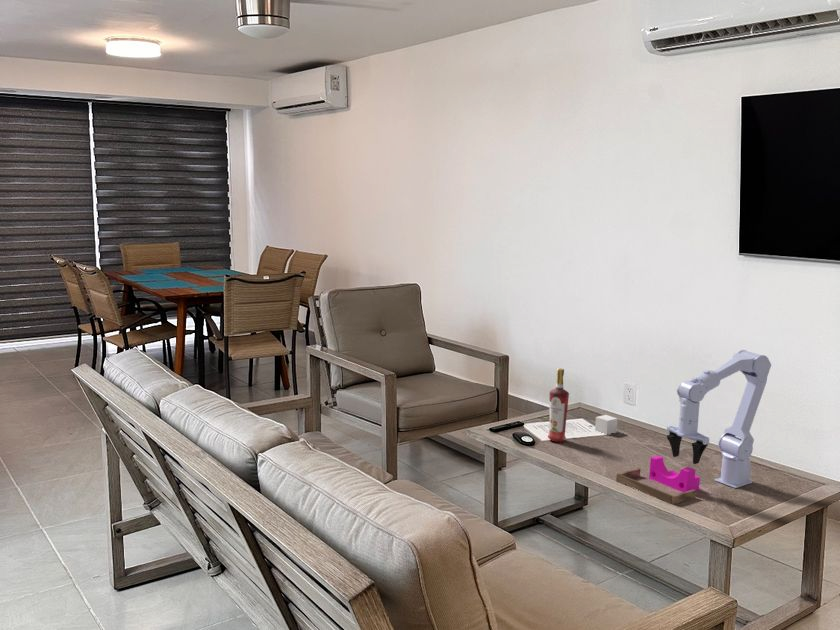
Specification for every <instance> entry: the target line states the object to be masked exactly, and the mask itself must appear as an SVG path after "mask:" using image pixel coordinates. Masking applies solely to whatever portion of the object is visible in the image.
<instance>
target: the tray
mask: <svg viewBox="0 0 840 630" xmlns="http://www.w3.org/2000/svg"><path fill="white" fill-rule="evenodd" d="M640 476H641V468H639V467H637V468H634V469H630V470H626V471H622V472H619V473H616V479H615V481H616V482H617V481H618V482H617V483H619V482H621V483H620V484H622V483H623V484H622V485H624V484H626V485H625V486H627V485H628V486H627V487H629V486H631V487H634V488H636V489H638V490H637V491H639V490H640V491H639V492H641V491H642V492H641V493H643V492H645V493H644V494H646V493H647V494H646V495H648V494H649V496H651V497H653V498H655V497H656V499H658V500H660V501H662V502H665V503H668V504H670V505H677V504H680V503H683V502H686V501H689V500H692V499H695V498H696V492H697V491H696V490H694V489H693V490H690V491H686V492H680V493H677V494H673V495H672V494H670V493H667V492H665V491H662V490H660V489H658V488H655V487H652V486H650V485H648V484H646V483H643V482H640V481H638V480H636V479H634V478H637V477H640ZM631 487H630V488H631ZM634 488H633V489H634ZM636 489H635V490H636Z"/></svg>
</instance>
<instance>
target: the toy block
mask: <svg viewBox="0 0 840 630" xmlns="http://www.w3.org/2000/svg"><path fill="white" fill-rule="evenodd" d="M649 461H650V462H649V476H648V479H650V480H652V481H654V482H657V483H659V484H662V485H664V486H666V487H669V488H671V489H674V490H676V491H680V493H683V492H686V491H690V490H693V489H694V490H696V492H697V491H699V490H700V481H701V476H697V475H696V469H695V468H692V467H690V466H688V467H684V468H681V469H680V472H677V471H675V470H674V469H672V470H668V469H667V467H666V465H665V461H664V457H663V456H660V455H656V456H652V457H650V460H649Z"/></svg>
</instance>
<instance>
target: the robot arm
mask: <svg viewBox="0 0 840 630" xmlns="http://www.w3.org/2000/svg"><path fill="white" fill-rule="evenodd" d="M771 367H772V362H771V361H770V360H769V357H768V356H766V355H764V354H758V353H754V352H751V351H748V350H744V349H740V350H738V351H737V352H736V353H734V354H733V356H732V357H731V359H729V360H728V361H726V362H725V363H724V364H722V365H721V366H719V367H717V368H716V369H714V370H711V369H708V370H707V369H705V370H704V371H703V373H701V374H699V375H698V376H696V377H693V378H692V379H691V380H684V381H682V382H681V383H680V384H679V385H678V388H677V390H676V393H677V396H678V397H679V398H678V399H679V402H680V404H679V406H680V407H679V419H678V427H676V426H672V425H669V426H667V427H666V433H668V434H667V435H666V439H667V440H668V442H669V444H670V445H669V446H670V447H671V453H672V457H674V458H676V457H679V456H680V450H681V443H682V442H681V441H682V439H683V438H685V439H689V440H691V441H695V442H692V443H691V447H692V455H693V456H692V463H693V465H697V464H699V463H700V461H701V458H702V455H703V453H704V451H705V449H706V448H707V447H708V446H709V444H710V437H707V436H706V435H704V434H702V433H700V432H698V431H699V430H698V429H699V417H700V416H699V415H700V402H701V401H703V399H704V397H705V396H706V395H707V393H709V392H710V391H712V390H714V389H715V388H717V387H719V385H720V384H721V380H724V379H725V378H728V377H730V376H732V375H733V374H735V373H738V372H740V373H742V375H744V377H745V379H746V380H747V381H746V385H745V388H744V390H743V394H742V397H741V399H740V402H739V405H738V408H737V411H736V414H735V417H734V420H733V422H732V425H731V426H729V427H726V428H725V429H724V432H723V434H722V435H721V436H720V438H719V440H718V443H717V446H718V449H719V450H720V451H721V453H720V454H721V455H722V460H721V472H720V477H718V478H715V479H714V481H715V482H718V483H721V484H724V485H726V486H728V487H731V488H734V489H737V488H741V487H743V486H747V485H749V484H752V483H753V481H752V480H751V474H752V473H751V471H752V462H751V459H750V457H751V455H752V454H753V449H754V448H753V445H754V442H755V439H754V437H753V436H752V433H751V432H750V431H751V428H752V425H753V422H754V420H755V416H756V413H757V411H758V407H759V405H760V402H761V399H762V396H763V393H764V391H765V388H766V385H767V381H768V376H769V373H770V370H771Z"/></svg>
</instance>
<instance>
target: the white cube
mask: <svg viewBox="0 0 840 630" xmlns="http://www.w3.org/2000/svg"><path fill="white" fill-rule="evenodd" d="M594 425H595V427H594V431H595V430H596V431H598V432H597V433H599V432H601V433H600V434H602V433H604V434H603V435H605V434H606V435H605V436H608V435H607V434H609V435H612V434H611V433H614V434H616V432H618V418H616V417H613V416H611V415H608V414H603V415H600V416H595V424H594ZM596 431H595V432H596Z"/></svg>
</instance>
